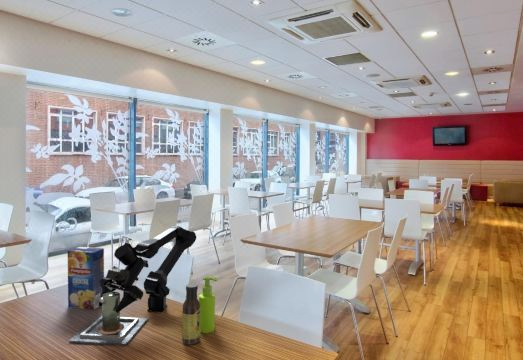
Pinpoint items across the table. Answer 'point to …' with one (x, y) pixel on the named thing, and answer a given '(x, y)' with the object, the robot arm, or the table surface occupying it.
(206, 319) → the soap dispenser
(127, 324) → the port plate
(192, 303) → the sauce bottle
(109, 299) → the spout can
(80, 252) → the juice carton
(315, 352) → the table surface
